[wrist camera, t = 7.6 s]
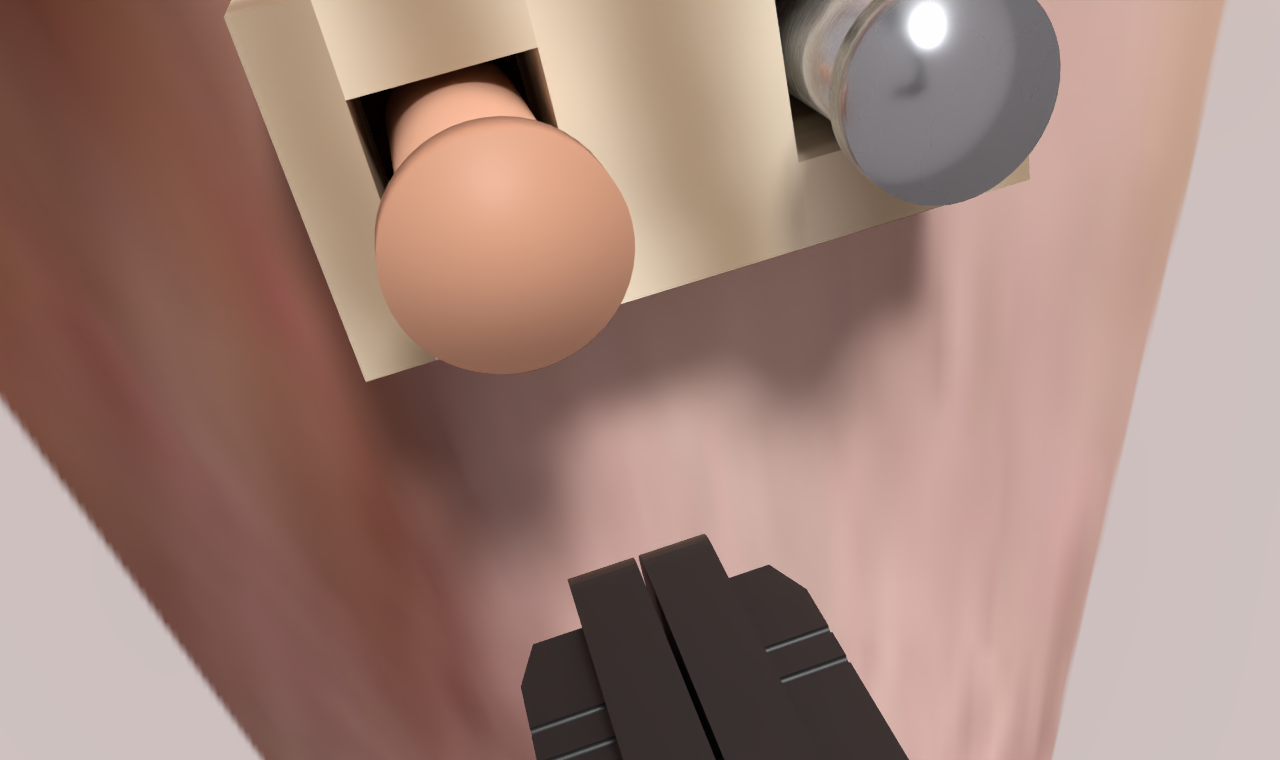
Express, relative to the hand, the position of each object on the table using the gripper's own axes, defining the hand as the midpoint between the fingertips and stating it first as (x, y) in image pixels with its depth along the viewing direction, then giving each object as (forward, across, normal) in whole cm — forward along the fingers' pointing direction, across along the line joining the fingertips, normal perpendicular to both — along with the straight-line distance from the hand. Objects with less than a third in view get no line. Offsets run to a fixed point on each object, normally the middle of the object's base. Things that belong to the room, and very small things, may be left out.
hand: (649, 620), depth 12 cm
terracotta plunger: (+21, 0, 0) cm, 21 cm away
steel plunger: (+22, -10, 0) cm, 24 cm away
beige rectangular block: (+23, -5, 0) cm, 23 cm away
